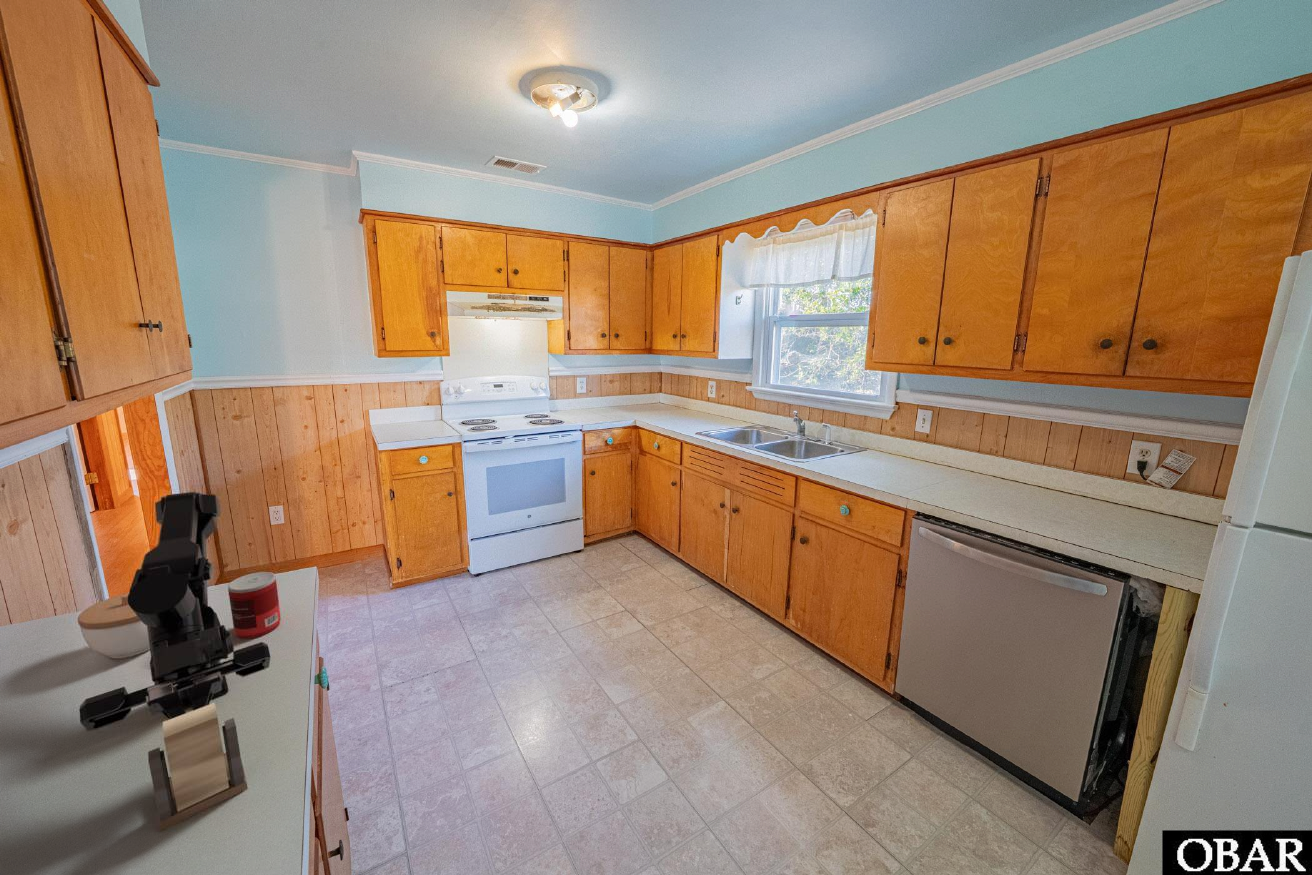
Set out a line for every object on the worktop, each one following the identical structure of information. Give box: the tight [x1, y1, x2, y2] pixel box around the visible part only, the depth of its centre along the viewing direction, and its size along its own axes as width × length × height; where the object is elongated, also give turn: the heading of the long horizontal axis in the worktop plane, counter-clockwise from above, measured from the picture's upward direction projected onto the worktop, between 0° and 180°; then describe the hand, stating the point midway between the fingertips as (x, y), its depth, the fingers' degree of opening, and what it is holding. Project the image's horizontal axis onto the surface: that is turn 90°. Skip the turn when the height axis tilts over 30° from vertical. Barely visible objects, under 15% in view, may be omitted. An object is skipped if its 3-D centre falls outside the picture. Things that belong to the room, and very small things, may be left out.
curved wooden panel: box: [162, 702, 229, 811], centre depth 65 cm, size 4×5×11 cm
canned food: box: [227, 571, 282, 639], centre depth 103 cm, size 8×8×11 cm
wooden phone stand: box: [147, 717, 248, 832], centre depth 67 cm, size 8×9×10 cm
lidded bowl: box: [77, 592, 150, 660], centre depth 96 cm, size 13×13×11 cm
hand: (194, 745), depth 66 cm, fingers closed, pressing on curved wooden panel
